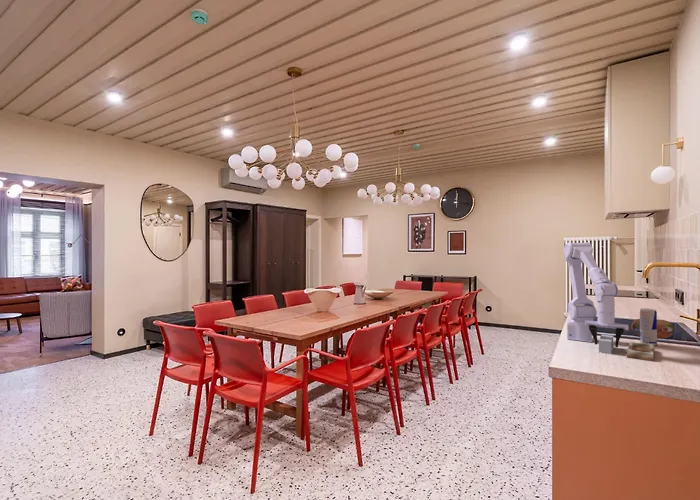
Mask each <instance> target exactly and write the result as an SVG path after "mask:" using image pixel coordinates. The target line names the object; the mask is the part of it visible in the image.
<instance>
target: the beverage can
mask: <svg viewBox="0 0 700 500" xmlns="http://www.w3.org/2000/svg"><path fill="white" fill-rule="evenodd" d="M657 315H658V313H657V309H655V308H647V307H646V308H645V307H642V308H641V307H640V308H639V319H640V336H639V343H644V344H652V345H653V346H656V345H657V344H658V338H657V319H658V318H657V317H658V316H657Z"/></svg>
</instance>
